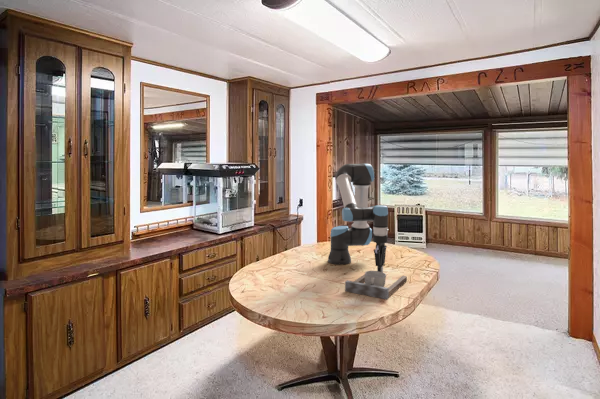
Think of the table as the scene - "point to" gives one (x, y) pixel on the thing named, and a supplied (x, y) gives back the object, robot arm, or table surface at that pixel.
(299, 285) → the table surface
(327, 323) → the table surface
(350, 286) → the guide track
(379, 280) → the teacup
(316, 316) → the table surface
